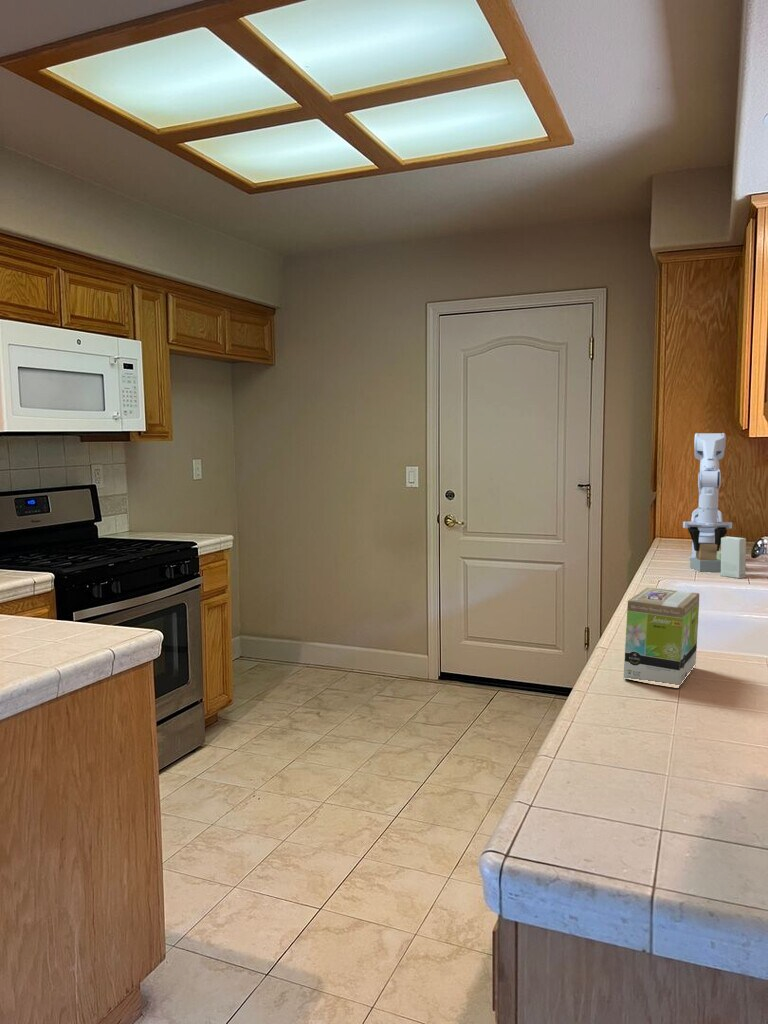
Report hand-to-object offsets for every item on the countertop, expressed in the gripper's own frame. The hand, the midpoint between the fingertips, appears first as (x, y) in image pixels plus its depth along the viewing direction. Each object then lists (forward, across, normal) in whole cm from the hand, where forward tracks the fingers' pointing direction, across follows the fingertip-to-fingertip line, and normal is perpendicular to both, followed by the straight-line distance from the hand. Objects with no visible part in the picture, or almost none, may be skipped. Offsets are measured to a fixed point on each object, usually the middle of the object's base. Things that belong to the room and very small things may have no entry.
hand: (706, 550), depth 242 cm
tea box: (+7, -40, -110) cm, 117 cm away
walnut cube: (+3, 0, 0) cm, 3 cm away
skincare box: (+7, +5, -10) cm, 13 cm away
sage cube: (+6, +8, +5) cm, 11 cm away
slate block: (+7, 0, 0) cm, 7 cm away
